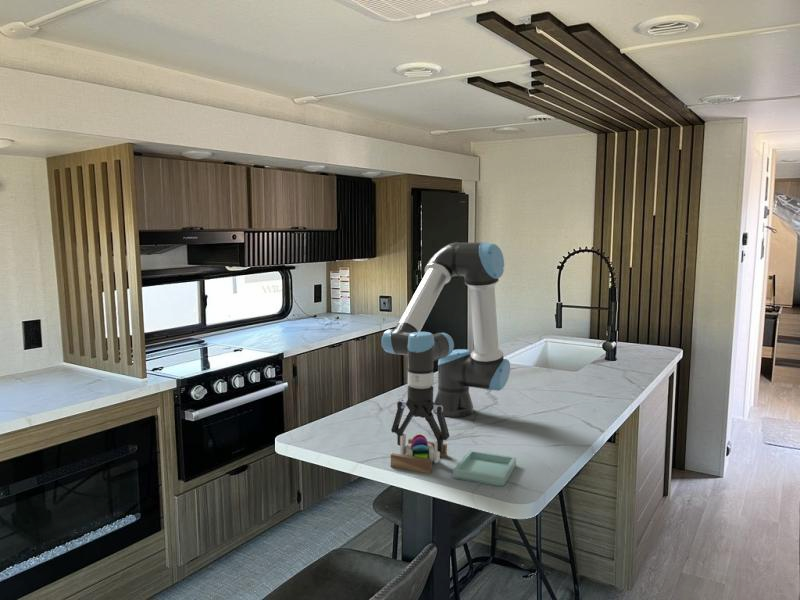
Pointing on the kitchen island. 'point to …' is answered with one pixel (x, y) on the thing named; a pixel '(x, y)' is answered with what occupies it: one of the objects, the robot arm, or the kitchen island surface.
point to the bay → (415, 460)
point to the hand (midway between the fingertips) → (419, 458)
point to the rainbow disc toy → (420, 448)
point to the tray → (485, 468)
